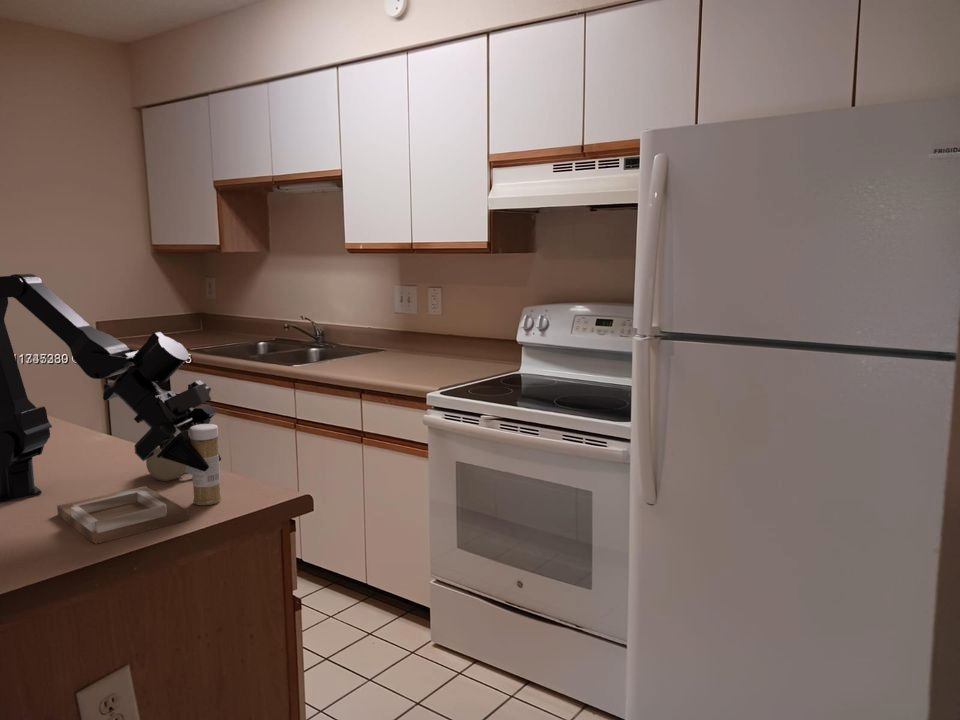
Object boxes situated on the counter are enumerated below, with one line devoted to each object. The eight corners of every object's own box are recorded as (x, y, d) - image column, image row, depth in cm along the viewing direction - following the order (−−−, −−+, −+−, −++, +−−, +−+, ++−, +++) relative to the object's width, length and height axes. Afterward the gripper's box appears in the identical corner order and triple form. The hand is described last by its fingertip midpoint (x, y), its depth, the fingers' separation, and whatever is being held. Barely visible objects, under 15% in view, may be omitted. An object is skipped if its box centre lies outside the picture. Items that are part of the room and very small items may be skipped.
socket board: (57, 514, 117) (56, 496, 116) (145, 494, 127) (144, 478, 126) (95, 544, 105) (93, 524, 105) (188, 519, 115) (187, 501, 115)
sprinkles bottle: (215, 495, 127) (212, 421, 125) (225, 502, 123) (221, 426, 121) (189, 501, 124) (185, 425, 122) (197, 508, 120) (194, 430, 118)
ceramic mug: (146, 484, 132) (144, 444, 131) (149, 472, 140) (147, 433, 139) (207, 480, 136) (206, 440, 135) (206, 467, 144) (205, 430, 142)
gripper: (148, 377, 111) (220, 448, 112) (203, 360, 130) (265, 421, 130) (103, 425, 113) (174, 495, 114) (164, 401, 131) (224, 461, 132)
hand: (213, 465), depth 122 cm, fingers closed on sprinkles bottle, 4 cm apart
